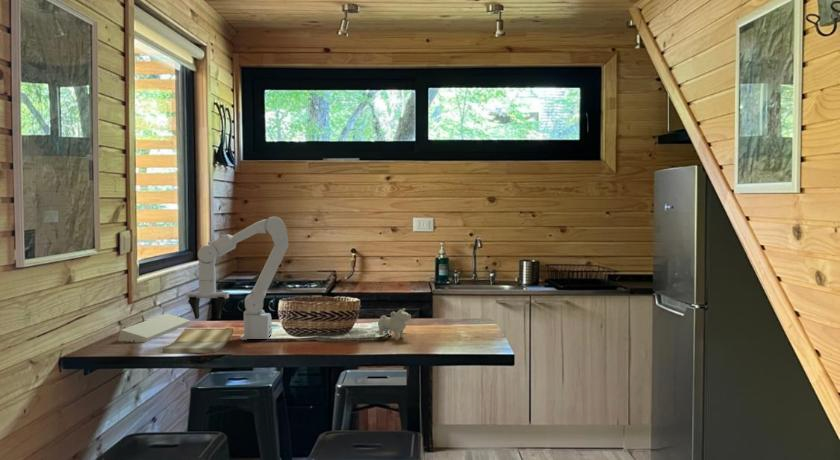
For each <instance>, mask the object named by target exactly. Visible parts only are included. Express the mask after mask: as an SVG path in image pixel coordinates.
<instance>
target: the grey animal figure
mask: <svg viewBox="0 0 840 460" xmlns="http://www.w3.org/2000/svg"><path fill="white" fill-rule="evenodd" d="M411 319H412V315H411V314H409V313H408V312H406V308H404V307H403V308H402V309H399V310H398V311H396V312H395V311H391V312H390V317H387V316H386V315H381V316H380V318H379V320H378V321H377V325H378V333H379V335H383V332H384V334H385V333H388V334H389V330H390V331H392V332H393V333H394V340H397V341H398V340H400V339H399V338H401V339H402V338H405V336H404V330H405V329H406V328H407V327H406V326H407V322H409V321H410V320H411Z"/></svg>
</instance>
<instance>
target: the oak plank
mask: <svg viewBox="0 0 840 460" xmlns="http://www.w3.org/2000/svg"><path fill="white" fill-rule="evenodd" d="M233 334H234V329H233V328H184V329H183V331H181V333H180V334H179V336H177V338H176V339H175V340H174V342H225V346H226V345H227V343H228V342H229V340H230V339H231V337H233Z"/></svg>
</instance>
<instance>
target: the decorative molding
mask: <svg viewBox="0 0 840 460" xmlns="http://www.w3.org/2000/svg"><path fill="white" fill-rule="evenodd" d="M190 323H191V320H190V319H188V318H183V317H181V316H178V315H175V314H170V313H168V312H167V313H164V314H162V315H161V314H160V315H159V316H155V317H152V318H151V319H147V320H145V321H142V322H138V323H136V324H134V325H133V324H132V325H131V326H127V327H124V328H123V329H120V331H119V336H118V339H117V340H118V341H126V342H125V343H127V342H128V343H129V342H131V343H147V342H150V341H151V340H155V339H156V337H157V338H159V337H161V336H164V335H166V334H169V333H171V331H172V332H175V331H176V330H179V329H181V328H183V327H186V326H188V325H189V324H190ZM178 328H179V329H178ZM118 341H117V342H118Z"/></svg>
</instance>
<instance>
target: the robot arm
mask: <svg viewBox="0 0 840 460" xmlns="http://www.w3.org/2000/svg"><path fill="white" fill-rule="evenodd" d="M287 229H288V228H287V226H286V224H285V222H284V221H283V220H282V218H280V217H279V216H270V217H268V218H265V219H262V220H259V221H256V222H254V223H253V224H251V225H248V226H247V227H246V228H244V229H242V230H240V231H238V232H236V233H234V234H233V235H232V234H228V233H227V234H224V233H223V234H220V237H218V238H217V239H214V240H213V241H208V242H207V244H206V245H203V246H201V247H200V248H199V249H198V252H197V258H198V269H197V270H198V291H187V292H186V293H185V299H188V300H187V302H188V304H189V305H190V307H191V309H192V312H193V315H194V316H193V317H194V319H195V320H198V319H200V301H201V300H200V299H215V307H216V320H221V318H222V314H223V313H222V312H223V309H224V306H225V304H226V302H227V300H228V299H229V298H230V292H229V291H217V277H216V275H217V273H216V269H217V268H216V266H215V265H216V261H215V258H216V257H217V258H219V257H221V256H223V255H225V254H227V253H229V252H232V250H235V249H236V248H237V244H238V243H240V242H242V241H244V240H246V239H248V238H250V237H252V236H254V235H256V234H266V233H267V232H268V233H269V235H270V236H271V239H272V241H273V244H274V245H273V248H272V249H271V251H270V253H269V256H268V258H267V260H266V262H265V263H264V267H263V268H262V269H261V272H260V275H259V277H258V278H257V280H256V283H255V284H254V286H253V288H252V290H251V291H250V293H248V294H247V295H246V297H244V308H245V310H244V311H243V336H242V337H240V340H243V341H244V340H246V341H247V339H267V338H268V337H269V336H270V335H272V336H273V333H272V330H273V327H272V325H273V322H272V314H271V313H270V312H265V310H264V309H263V308H264V301H265V300H264V299H265V297H266V294H267V293H268V292H267V291H268V290H269V288H270V286H271V284H272V282H273V279H274V277H275V275H276V273H277V271H278V269H279V268H280V267H279V266H280V265H281V262H282V261H283V259H284V257H285V254H286V252H287V250H288V248H289V247H290V246H289V244H290V243H289V237H288V230H287ZM266 231H267V232H266ZM269 338H270V337H269ZM269 338H268V339H269ZM268 339H267V340H268Z"/></svg>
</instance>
